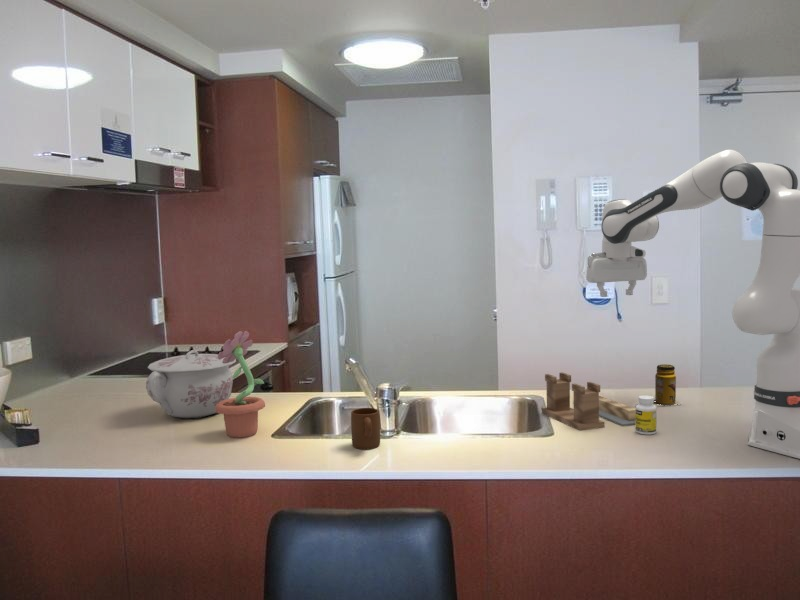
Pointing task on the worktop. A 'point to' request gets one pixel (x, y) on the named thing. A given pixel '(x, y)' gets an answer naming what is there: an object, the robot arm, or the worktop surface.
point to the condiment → (665, 386)
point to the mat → (615, 419)
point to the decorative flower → (241, 409)
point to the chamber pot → (190, 384)
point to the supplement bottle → (645, 415)
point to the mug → (365, 428)
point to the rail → (617, 409)
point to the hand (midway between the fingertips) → (616, 295)
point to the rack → (584, 402)
